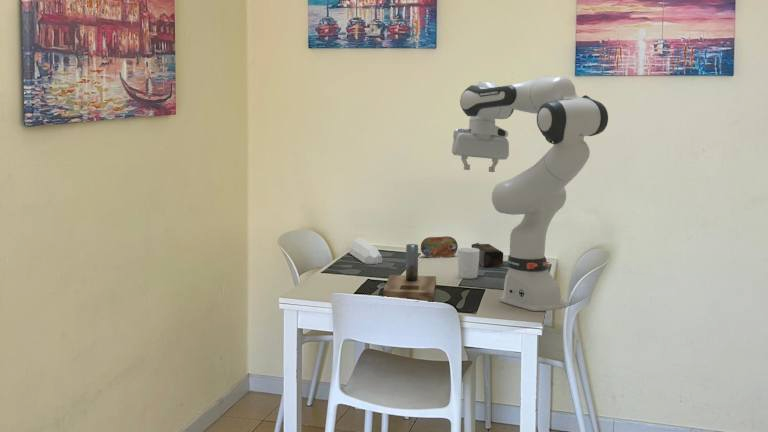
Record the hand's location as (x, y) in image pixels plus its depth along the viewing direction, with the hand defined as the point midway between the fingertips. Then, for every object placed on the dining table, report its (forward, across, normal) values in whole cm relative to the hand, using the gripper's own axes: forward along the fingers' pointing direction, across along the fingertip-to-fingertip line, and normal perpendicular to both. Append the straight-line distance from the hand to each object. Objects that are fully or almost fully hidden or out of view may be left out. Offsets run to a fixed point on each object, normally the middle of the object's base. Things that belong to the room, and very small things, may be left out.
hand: (479, 170), depth 293 cm
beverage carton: (+33, +24, +37) cm, 55 cm away
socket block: (+42, -22, +1) cm, 48 cm away
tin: (+33, +10, +53) cm, 63 cm away
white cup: (+38, +6, +16) cm, 41 cm away
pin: (+38, -20, +5) cm, 44 cm away
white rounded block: (+35, -19, +58) cm, 70 cm away
